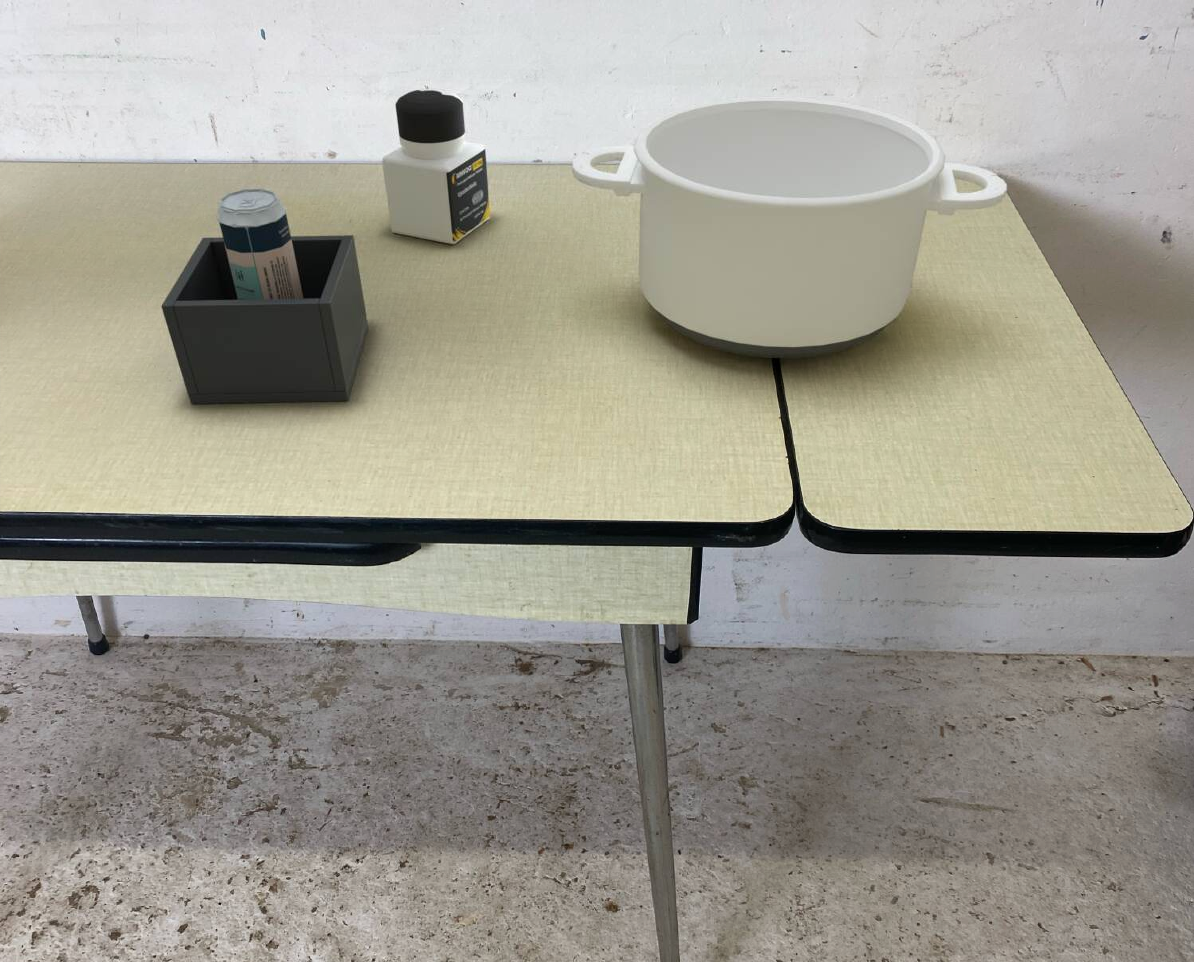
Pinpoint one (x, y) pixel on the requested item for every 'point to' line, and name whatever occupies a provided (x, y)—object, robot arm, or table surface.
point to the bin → (269, 327)
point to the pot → (783, 218)
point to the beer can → (259, 245)
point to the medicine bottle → (435, 170)
